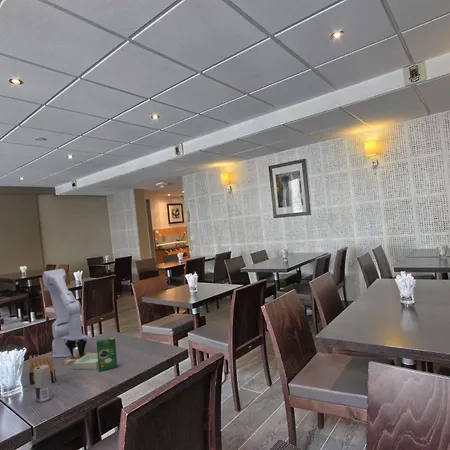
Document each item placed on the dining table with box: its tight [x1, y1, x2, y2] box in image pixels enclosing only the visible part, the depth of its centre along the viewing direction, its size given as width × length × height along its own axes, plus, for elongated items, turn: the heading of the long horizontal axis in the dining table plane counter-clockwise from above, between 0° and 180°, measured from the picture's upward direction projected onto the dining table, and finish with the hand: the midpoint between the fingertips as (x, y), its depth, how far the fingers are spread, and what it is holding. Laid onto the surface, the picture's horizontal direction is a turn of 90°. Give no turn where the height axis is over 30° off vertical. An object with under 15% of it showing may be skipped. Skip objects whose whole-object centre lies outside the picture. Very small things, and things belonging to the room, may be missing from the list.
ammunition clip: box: [28, 353, 57, 386], centre depth 140 cm, size 11×2×12 cm, turn 84°
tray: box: [72, 352, 99, 371], centre depth 155 cm, size 11×11×3 cm
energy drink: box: [34, 364, 54, 403], centre depth 126 cm, size 5×5×12 cm
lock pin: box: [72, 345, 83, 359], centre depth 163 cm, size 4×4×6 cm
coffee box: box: [96, 336, 118, 372], centre depth 148 cm, size 8×3×13 cm, turn 110°
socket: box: [61, 352, 94, 365], centre depth 163 cm, size 10×10×2 cm
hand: (77, 355), depth 163 cm, fingers closed on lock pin, 4 cm apart
